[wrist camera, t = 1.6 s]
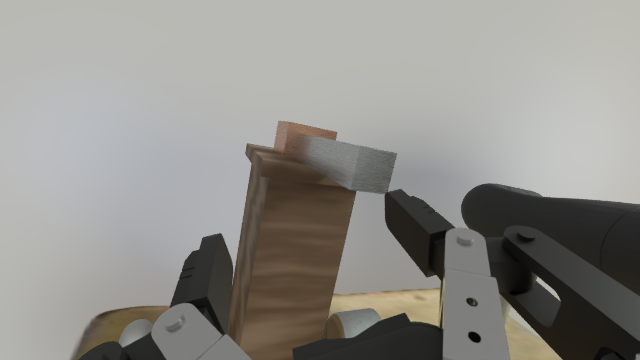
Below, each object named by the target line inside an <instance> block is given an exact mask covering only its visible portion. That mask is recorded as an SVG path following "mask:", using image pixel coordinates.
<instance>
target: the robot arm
mask: <svg viewBox="0 0 640 360" xmlns="http://www.w3.org/2000/svg"><path fill="white" fill-rule="evenodd" d="M461 213H462V217H463V220H464V222H465V224H466V225H467V226H468V228H469V229H467V228H455V227H454V226H453V225H452V224H451V223H449V222H448V221H447V220H446V219H445V218H443V217H442V216H441V215H440V214H439V213H437V212H435V210H434V209H433V208H431V207H430V206H429V205H428V204H427V203H426V202H424V201H423V200H421V199H419V198H416V197H414V196H411V197H410V196H408V195H407V194H406V193H405V192H404V191H403V190H401V189H398V190H394V191H390V192H386V193H385V221H386V224H387V227H388V229H389V230H390V232H391V233H392V234H393V235H394V237H395V238H396V239H397V241H398V242H399V243H400V244H401V246H402V247H403V248H404V249H405V251H406V252H407V253H408V254H409V256H410V257H411V258H412V260H413V261H414V262H415V263H416V264H417V266H418V267H419V268H420V270H421V271H422V272H423V273H424V275H425V276H426V277H430V276H433V275H437V276H438V277H439V279H440V280H441V282H440V300H439V320H438V326H435V325H432V324H428V323H423V322H410V320H409V319H408V317H407V315H406V314H405V313H402V314H399V315H396V316H393V317H390V318H387V319H384V320H381V321H378V322H377V323H375V324H373V325H372V326H370V327H369V328H367V329H366V330H364V331H363V332H361V333H360V334H358V335H357V336H355V337H353V338H340V339H321V340H318V341H315V342H312V343H309V344H305V345H302V346H299V347H296V348H293V349H292V351H293V360H510V354H509V348H508V342H507V337H506V331H505V323H506V320H507V318H508V315H509V312H510V308H511V306H512V307H513V308H514V309H515V310H516V311H517V312H518V313H519V315H521V317H522V318H524V320H525V321H526V322H527V323H528V324H529V325H530V326H531V327H532V328H533V329H534V330H535V331H536V332H537V333H538V334H539V335H540V336H541V338H542V339H543V340H544V341H545V342H546V343H547V344H548V345H549V346H550V347H551V348H552V349H553V350H554V351H555V352H556V353H557V354H558V355H559V356H560V357H561V358H562V359H563V360H640V204H631V203H622V202H610V201H600V200H587V199H570V198H551V197H543V196H541V195H540V194H538V193H536V192H533V191H528V190H524V189H519V188H514V187H510V186H505V185H500V184H482V185H479V186H477V187H475V188H473V189H472V190H471V191H469V192H468V193H467V195H466V196H465V197H464V199H463V202H462V205H461ZM484 237H485V238H484ZM537 276H538V277H539V278H541V279H542V280H543V281H544V282H545V283H546V284H548V285H549V286H550V287H551V288H552V289H554V290H555V291H556V293H557V294H558V296H559V298H560V300H561V302H560V301H559V300H558V299H557V298H556V297H554V296H553V295H552V294H551V293H550V292H549V291H547V290H546V289H545V288H544V287H542V285H540V284H539V283H538V282H537V281H536V279H537ZM179 279H180V280H179V281H178V284H177V287H176V290H175V293H174V296H173V299H172V302H171V305H170V308H169V309H168V310H166V311H165V312H164V313H163V314H162V315H161V316H160V317H159V318H158V319H157V320H156V322H155V323H154V325H153V327H152V331H151V332H150V333H148V334H147V335H145V336H143V337H141V338H140V339H138V340H136V341H134V342H132V343H130V344H129V345H127V346H125V347H122V346H121V345H120V344H119V343H118V342H114V341H111V342H106V343H103V344H100V345H98V346H96V347H95V348H93V349H91V350H90V351H88V352H87V353H86V354H84V355H83V356H82V357H81V358H80V359H79V360H252V359H251V358H250V357H249V356H248V355H247V354H246V353H245V352H244V351H243V350H242V349H241V348H240V347H239V346H238V345H237V344H236V343H235V342H234V341H233V340H232V339H231V338H230V337H229V336H228V325H229V314H230V303H231V291H232V279H233V265H232V260H231V257H230V254H229V252H228V249H227V246H226V244H225V241H224V238H223V236H222V234H221V233H219V234H215V235H211V236H206V237H203V238H202V242H201V245H200V249H199V250H196V251H193V252H192V253H191V254H190V255H189V256H188V258H187V259H186V260H185V262H184V266H183V268H182V272H181V274H180V278H179Z"/></svg>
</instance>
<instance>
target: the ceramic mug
mask: <svg viewBox="0 0 640 360" xmlns="http://www.w3.org/2000/svg"><path fill="white" fill-rule="evenodd" d="M378 321H381V318H380V316H379V315H378V313H377V312H376V311H375V310H373V309H371V308H368V309H361V310H353V311H346V312H339V313H336V314H333V315H332V316H330V318H329V319H328V322H327V327H326V338H327V339H340V338H353V337H355V336H357V335H358V334H360V333H361V332H363V331H364V330H366V329H367V328H369V327H370V326H372V325H373V324H375V323H377V322H378Z"/></svg>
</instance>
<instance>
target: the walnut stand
mask: <svg viewBox="0 0 640 360" xmlns="http://www.w3.org/2000/svg"><path fill="white" fill-rule="evenodd" d="M273 149H274V148H271V147H265V146H259V145H253V144H247V147H246V156H247V157H248V158H249V160H250V162H251V163H252V165H251V172H250V178H249V184H248V191H247V197H246V203H245V209H244V216H243V223H242V228H241V235H240V241H239V247H238V254H237V260H236V266H235V273H234V279H233V285H232V291H231V303H230V314H229V325H228V336H229V337H230V338H231V339H232V340H233V341H234V342H235V343H236V344H237V345H238V346H239V347H240V348H241V349H242V350H243V351H244V352H245V353H246V354H247V355H248V356H249V357H250V358H251V359H252V360H293V351H292V349H293V348H296V347H299V346H302V345H305V344H309V343H312V342H315V341H318V340H321V339H323V336H324V331H325V327H326V323H327V318H328V314H329V309H330V305H331V301H332V296H333V291H334V287H335V283H336V278H337V274H338V270H339V266H340V261H341V257H342V252H343V248H344V243H345V239H346V235H347V230H348V226H349V222H350V217H351V213H352V208H353V204H354V200H355V195H356V191H354V190H349V189H348V188H346V187H344V186H342V185H341V184H339V183H337V182H335V181H334V180H332V179H330V178H328V177H326V176H325V175H323V174H321V173H319V172H318V171H316V170H314V169H312V168H310V167H309V166H307V165H305V164H303V163H302V162H300V161H298V160H296V159H292V158H286V157H282V156H281V155H279V154H277V153H276V152H274V151H273Z"/></svg>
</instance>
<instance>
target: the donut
mask: <svg viewBox="0 0 640 360" xmlns="http://www.w3.org/2000/svg"><path fill="white" fill-rule="evenodd" d="M152 327H153V324H152V323H151V322H150V321H149V320H146V319H138V320H135V321H133V322H131V323H129V324H128V325H127V326H126V327H125V329H124V330H123V332H122V334H121V336H120V339H119V342H118V343H119V344H120V345H121V346H122V347H125V346H127V345H129V344H130V343H132V342H134V341H136V340H138V339H140V338H141V337H143V336H145V335H147V334H148V333H150V332H151V331H152Z"/></svg>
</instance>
